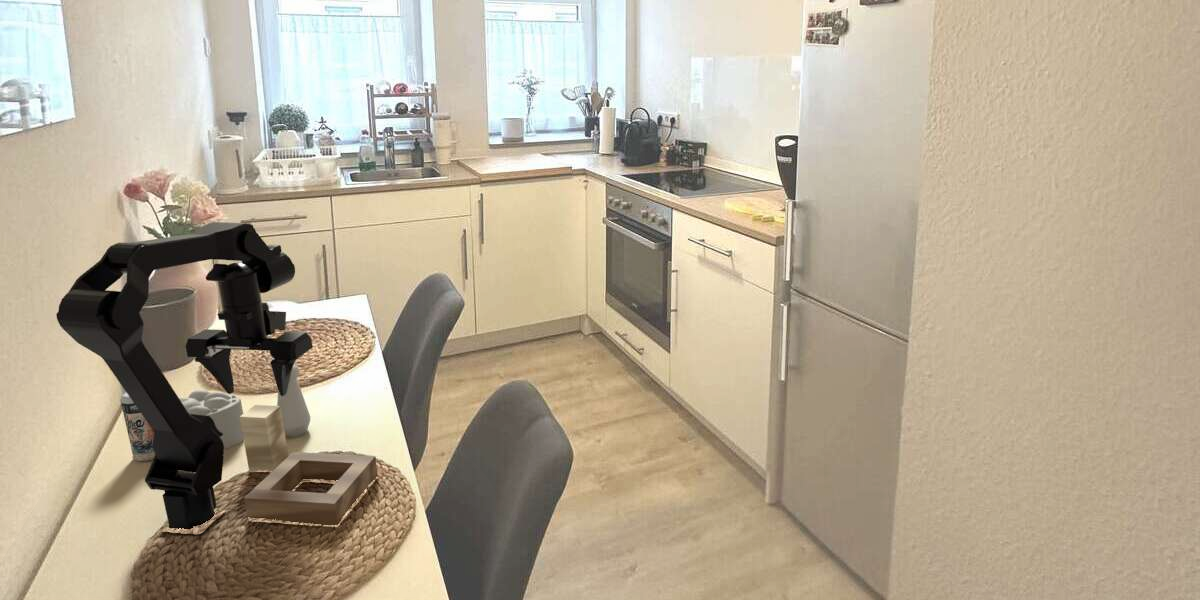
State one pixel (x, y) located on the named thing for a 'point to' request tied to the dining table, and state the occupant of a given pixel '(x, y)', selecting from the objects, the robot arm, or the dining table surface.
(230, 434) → the lumpy-topped squat cylinder
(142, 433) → the beer can
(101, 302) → the robot arm
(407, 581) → the dining table surface
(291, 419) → the salt shaker
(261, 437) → the birch peg
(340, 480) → the socket block
